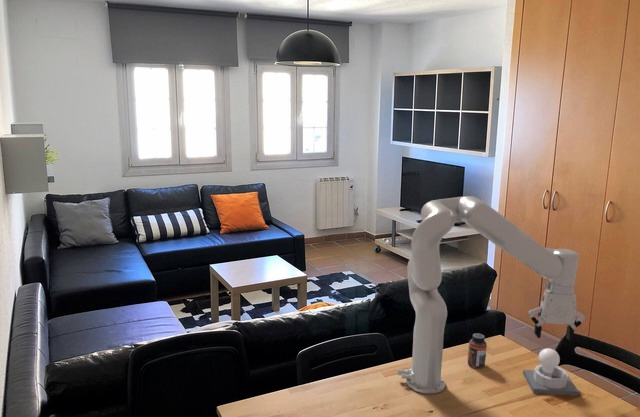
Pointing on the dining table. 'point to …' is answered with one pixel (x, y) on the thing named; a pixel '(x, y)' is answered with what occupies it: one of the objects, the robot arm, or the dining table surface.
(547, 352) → the lightbulb
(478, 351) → the supplement bottle
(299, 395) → the dining table surface
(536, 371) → the socket holder
